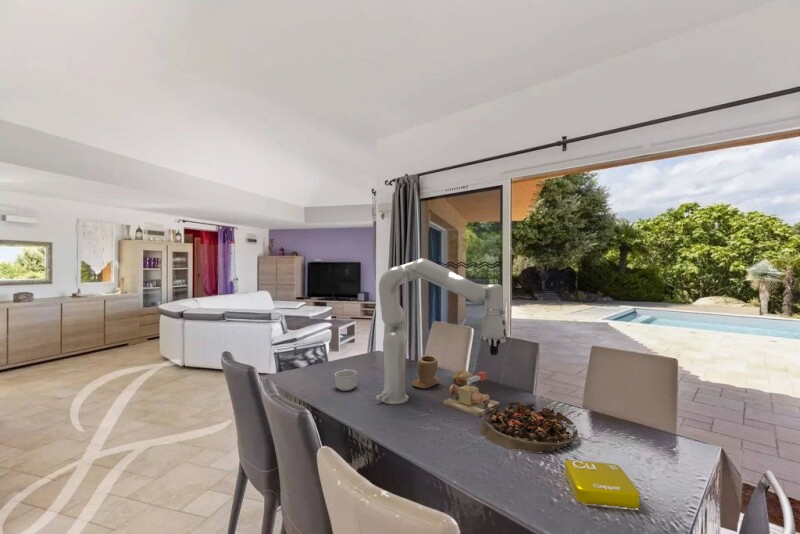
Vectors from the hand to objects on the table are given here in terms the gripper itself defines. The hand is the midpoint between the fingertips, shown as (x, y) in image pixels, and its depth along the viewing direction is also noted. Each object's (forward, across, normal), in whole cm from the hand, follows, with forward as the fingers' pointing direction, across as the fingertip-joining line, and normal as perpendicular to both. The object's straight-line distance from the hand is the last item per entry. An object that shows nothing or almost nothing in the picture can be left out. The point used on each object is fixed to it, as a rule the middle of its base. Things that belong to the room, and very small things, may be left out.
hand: (494, 354), depth 162 cm
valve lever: (+13, +6, +5) cm, 15 cm away
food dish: (+22, -22, +14) cm, 34 cm away
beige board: (+22, +6, +8) cm, 24 cm away
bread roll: (+22, +27, -14) cm, 37 cm away
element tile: (+23, -52, +34) cm, 67 cm away
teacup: (+21, +62, +34) cm, 74 cm away
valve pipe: (+20, +6, +10) cm, 23 cm away
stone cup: (+22, +36, +2) cm, 42 cm away
